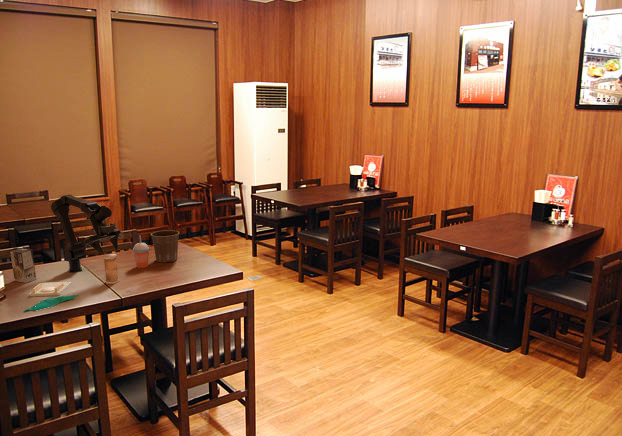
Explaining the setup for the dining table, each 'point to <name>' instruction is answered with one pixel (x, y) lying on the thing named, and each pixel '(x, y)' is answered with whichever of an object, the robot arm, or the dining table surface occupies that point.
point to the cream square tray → (50, 288)
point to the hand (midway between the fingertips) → (109, 251)
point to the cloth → (51, 302)
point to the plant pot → (165, 245)
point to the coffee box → (23, 265)
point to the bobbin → (111, 268)
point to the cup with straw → (141, 254)
